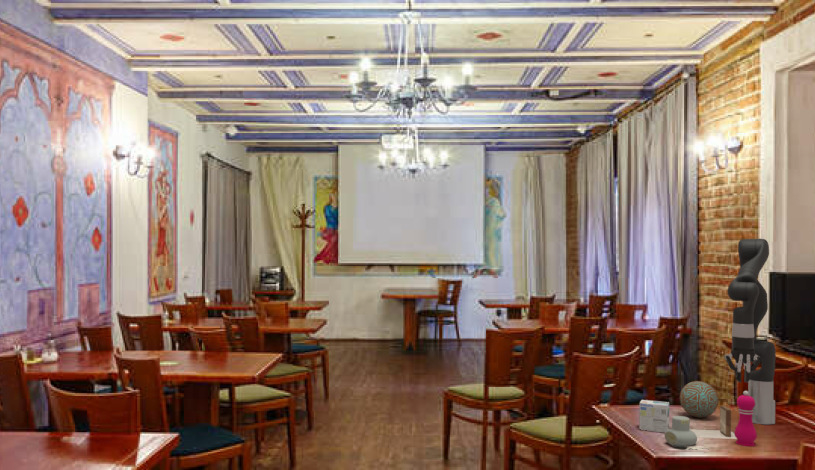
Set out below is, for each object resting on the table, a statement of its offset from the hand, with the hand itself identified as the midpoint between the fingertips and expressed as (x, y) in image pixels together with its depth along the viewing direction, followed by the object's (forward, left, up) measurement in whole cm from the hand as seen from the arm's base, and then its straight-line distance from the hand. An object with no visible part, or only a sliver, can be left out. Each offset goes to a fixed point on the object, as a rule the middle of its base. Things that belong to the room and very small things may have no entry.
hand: (742, 381), depth 270 cm
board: (+12, 0, -21) cm, 24 cm away
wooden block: (+6, 0, -20) cm, 21 cm away
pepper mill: (+3, +12, -21) cm, 25 cm away
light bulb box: (+30, -8, -21) cm, 38 cm away
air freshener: (+26, +14, -21) cm, 36 cm away
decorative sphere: (+6, -33, -21) cm, 40 cm away
